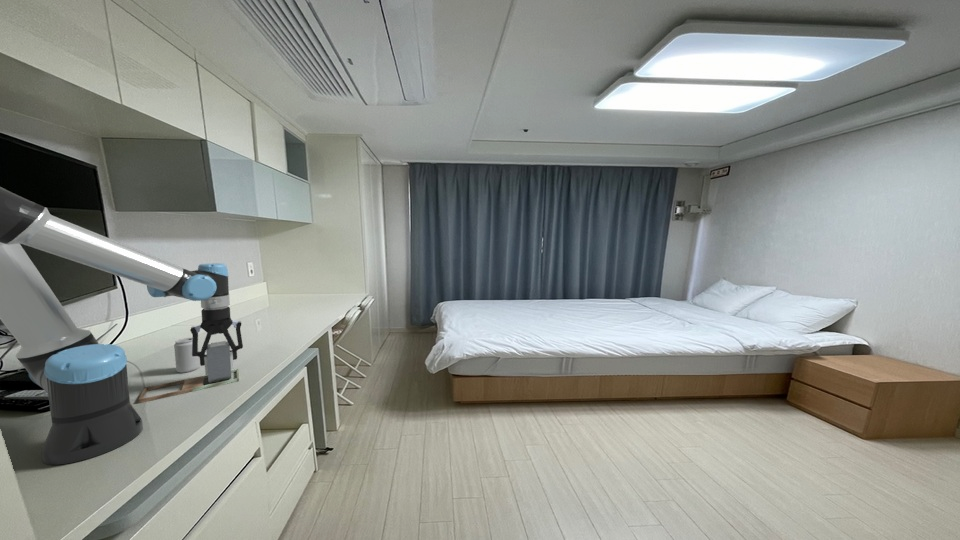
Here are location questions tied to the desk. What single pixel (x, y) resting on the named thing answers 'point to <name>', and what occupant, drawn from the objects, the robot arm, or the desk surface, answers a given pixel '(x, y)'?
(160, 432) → the desk surface
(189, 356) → the beverage can
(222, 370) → the block
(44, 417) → the desk surface
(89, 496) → the desk surface
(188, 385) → the rail
